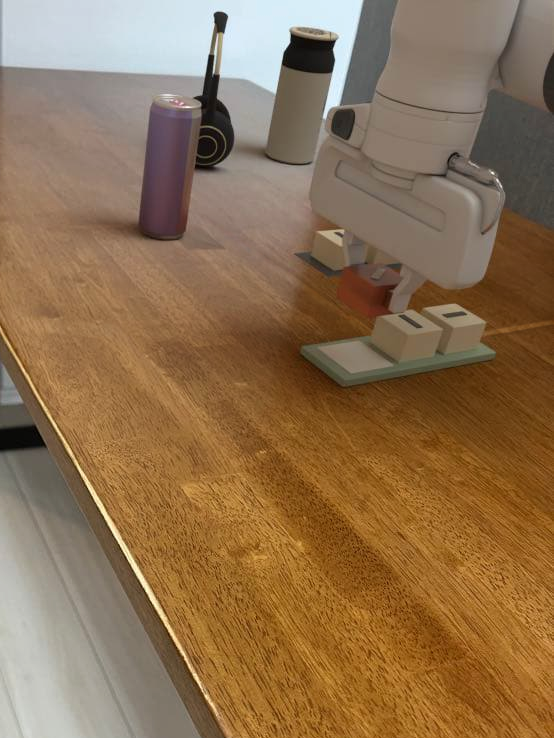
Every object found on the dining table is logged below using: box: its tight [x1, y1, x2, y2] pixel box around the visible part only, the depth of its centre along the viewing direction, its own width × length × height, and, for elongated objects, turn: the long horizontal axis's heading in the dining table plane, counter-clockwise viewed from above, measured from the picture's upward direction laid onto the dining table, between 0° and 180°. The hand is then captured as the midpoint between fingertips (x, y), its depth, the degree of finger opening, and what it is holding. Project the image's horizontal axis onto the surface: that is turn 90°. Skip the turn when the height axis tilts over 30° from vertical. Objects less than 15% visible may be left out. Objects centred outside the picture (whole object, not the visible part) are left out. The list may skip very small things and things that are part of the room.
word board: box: [299, 302, 497, 388], centre depth 85 cm, size 20×7×4 cm, turn 118°
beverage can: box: [137, 93, 202, 241], centre depth 102 cm, size 6×6×15 cm
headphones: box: [192, 10, 235, 168], centre depth 126 cm, size 9×15×20 cm, turn 0°
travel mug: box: [264, 26, 340, 165], centre depth 134 cm, size 8×8×18 cm
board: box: [293, 228, 402, 278], centre depth 105 cm, size 20×7×4 cm, turn 118°
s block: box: [335, 263, 404, 319], centre depth 79 cm, size 5×5×3 cm
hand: (372, 295), depth 79 cm, fingers closed on s block, 4 cm apart
